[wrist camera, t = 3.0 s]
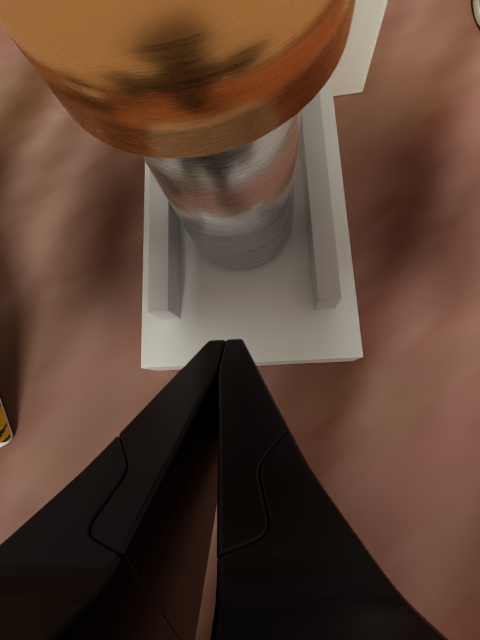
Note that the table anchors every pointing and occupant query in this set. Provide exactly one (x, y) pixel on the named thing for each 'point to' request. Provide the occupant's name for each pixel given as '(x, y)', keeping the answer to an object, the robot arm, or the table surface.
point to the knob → (195, 99)
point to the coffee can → (477, 10)
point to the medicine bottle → (4, 427)
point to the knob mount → (280, 272)
